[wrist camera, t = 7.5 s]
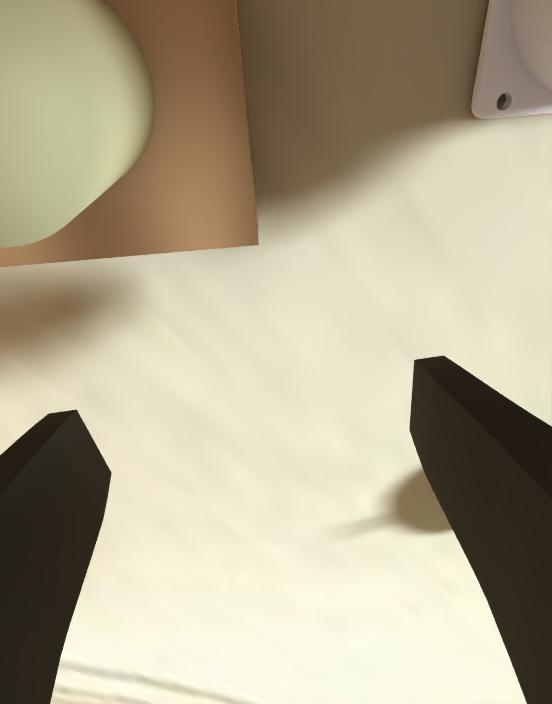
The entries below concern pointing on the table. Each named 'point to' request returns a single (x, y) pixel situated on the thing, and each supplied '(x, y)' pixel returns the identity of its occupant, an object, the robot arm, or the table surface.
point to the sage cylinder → (66, 111)
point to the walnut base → (174, 147)
